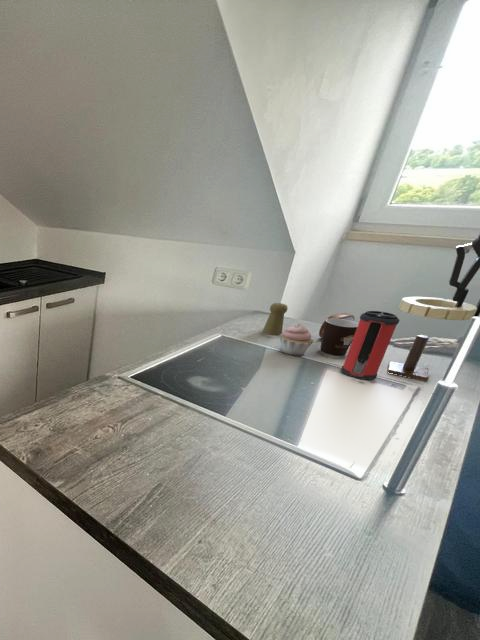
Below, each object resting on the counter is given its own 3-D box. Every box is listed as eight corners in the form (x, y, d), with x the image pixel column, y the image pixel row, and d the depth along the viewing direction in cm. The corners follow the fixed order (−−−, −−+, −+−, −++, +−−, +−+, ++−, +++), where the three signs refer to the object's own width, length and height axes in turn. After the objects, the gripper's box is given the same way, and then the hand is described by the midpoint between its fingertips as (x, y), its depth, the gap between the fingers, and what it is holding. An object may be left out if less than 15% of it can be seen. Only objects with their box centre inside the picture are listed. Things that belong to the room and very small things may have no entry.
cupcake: (272, 345, 132) (280, 317, 128) (305, 349, 129) (314, 320, 125) (277, 355, 125) (285, 325, 121) (312, 359, 121) (322, 329, 117)
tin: (340, 332, 142) (348, 310, 138) (350, 335, 139) (359, 312, 136) (315, 339, 136) (322, 316, 133) (325, 342, 134) (333, 318, 130)
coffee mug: (320, 355, 124) (330, 325, 120) (312, 345, 131) (321, 317, 127) (366, 360, 120) (378, 329, 116) (355, 349, 127) (366, 320, 123)
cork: (285, 335, 140) (293, 306, 136) (266, 335, 141) (274, 305, 137) (277, 330, 146) (285, 301, 141) (259, 329, 147) (267, 301, 142)
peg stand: (426, 372, 111) (443, 335, 107) (426, 381, 106) (444, 343, 101) (388, 364, 116) (403, 329, 112) (387, 373, 111) (402, 336, 107)
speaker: (337, 374, 112) (359, 314, 104) (343, 366, 116) (365, 308, 109) (373, 382, 106) (398, 320, 99) (378, 374, 111) (402, 313, 103)
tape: (469, 311, 104) (474, 301, 103) (474, 323, 95) (479, 313, 94) (399, 302, 113) (403, 294, 112) (398, 313, 104) (402, 304, 103)
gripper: (461, 219, 93) (421, 312, 103) (571, 221, 83) (515, 325, 93) (459, 216, 98) (421, 306, 108) (562, 218, 88) (510, 317, 97)
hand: (464, 315), depth 100 cm, fingers closed on tape, 3 cm apart
